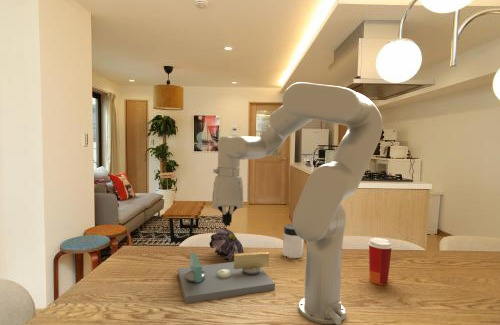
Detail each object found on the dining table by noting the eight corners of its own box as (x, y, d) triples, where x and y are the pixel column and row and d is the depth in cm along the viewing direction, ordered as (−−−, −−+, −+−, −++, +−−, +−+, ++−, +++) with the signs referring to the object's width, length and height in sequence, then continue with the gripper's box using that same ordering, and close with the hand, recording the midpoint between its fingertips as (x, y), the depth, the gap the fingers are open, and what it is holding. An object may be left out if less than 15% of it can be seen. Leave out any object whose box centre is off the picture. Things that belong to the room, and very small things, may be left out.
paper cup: (388, 277, 103) (390, 238, 102) (392, 288, 95) (395, 246, 95) (364, 274, 105) (366, 236, 104) (367, 284, 98) (369, 243, 97)
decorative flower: (224, 241, 108) (210, 221, 121) (212, 268, 110) (199, 245, 122) (255, 245, 116) (239, 226, 129) (243, 270, 118) (228, 248, 130)
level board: (274, 289, 93) (275, 278, 93) (185, 303, 84) (185, 291, 83) (253, 264, 112) (253, 255, 112) (178, 273, 102) (178, 264, 102)
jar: (307, 255, 122) (308, 227, 121) (294, 260, 117) (295, 230, 116) (291, 249, 129) (292, 222, 128) (278, 253, 124) (279, 225, 123)
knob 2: (235, 276, 96) (235, 258, 96) (232, 268, 102) (232, 251, 102) (270, 273, 99) (270, 256, 99) (265, 266, 105) (266, 249, 104)
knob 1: (208, 285, 90) (208, 266, 89) (188, 288, 88) (188, 268, 87) (201, 269, 101) (201, 252, 101) (184, 272, 99) (184, 254, 99)
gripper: (208, 173, 95) (206, 229, 96) (252, 173, 99) (250, 226, 100) (205, 171, 102) (203, 222, 103) (246, 171, 106) (244, 221, 108)
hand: (226, 224), depth 102 cm, fingers closed
